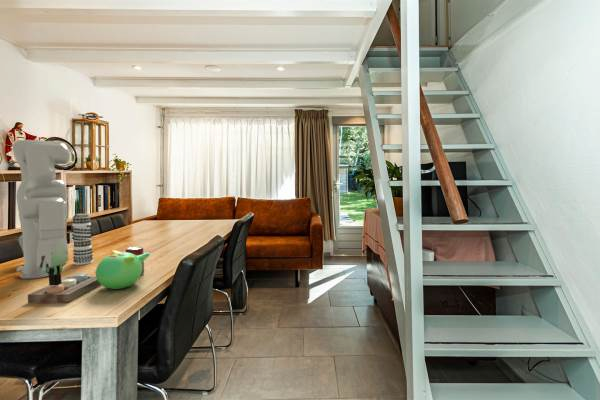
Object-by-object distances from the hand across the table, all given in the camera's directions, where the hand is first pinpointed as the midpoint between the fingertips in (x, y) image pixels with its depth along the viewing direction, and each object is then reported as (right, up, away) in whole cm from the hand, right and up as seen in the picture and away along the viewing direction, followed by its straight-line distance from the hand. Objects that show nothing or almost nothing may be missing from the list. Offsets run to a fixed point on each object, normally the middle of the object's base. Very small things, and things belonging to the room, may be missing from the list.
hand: (55, 284), depth 125 cm
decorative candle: (-23, -2, +54) cm, 58 cm away
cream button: (0, -3, +7) cm, 8 cm away
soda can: (+14, -3, +31) cm, 34 cm away
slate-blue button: (0, -3, +14) cm, 14 cm away
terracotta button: (0, -4, 0) cm, 4 cm away
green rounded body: (+17, -5, +13) cm, 22 cm away
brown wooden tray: (0, -5, +7) cm, 8 cm away
